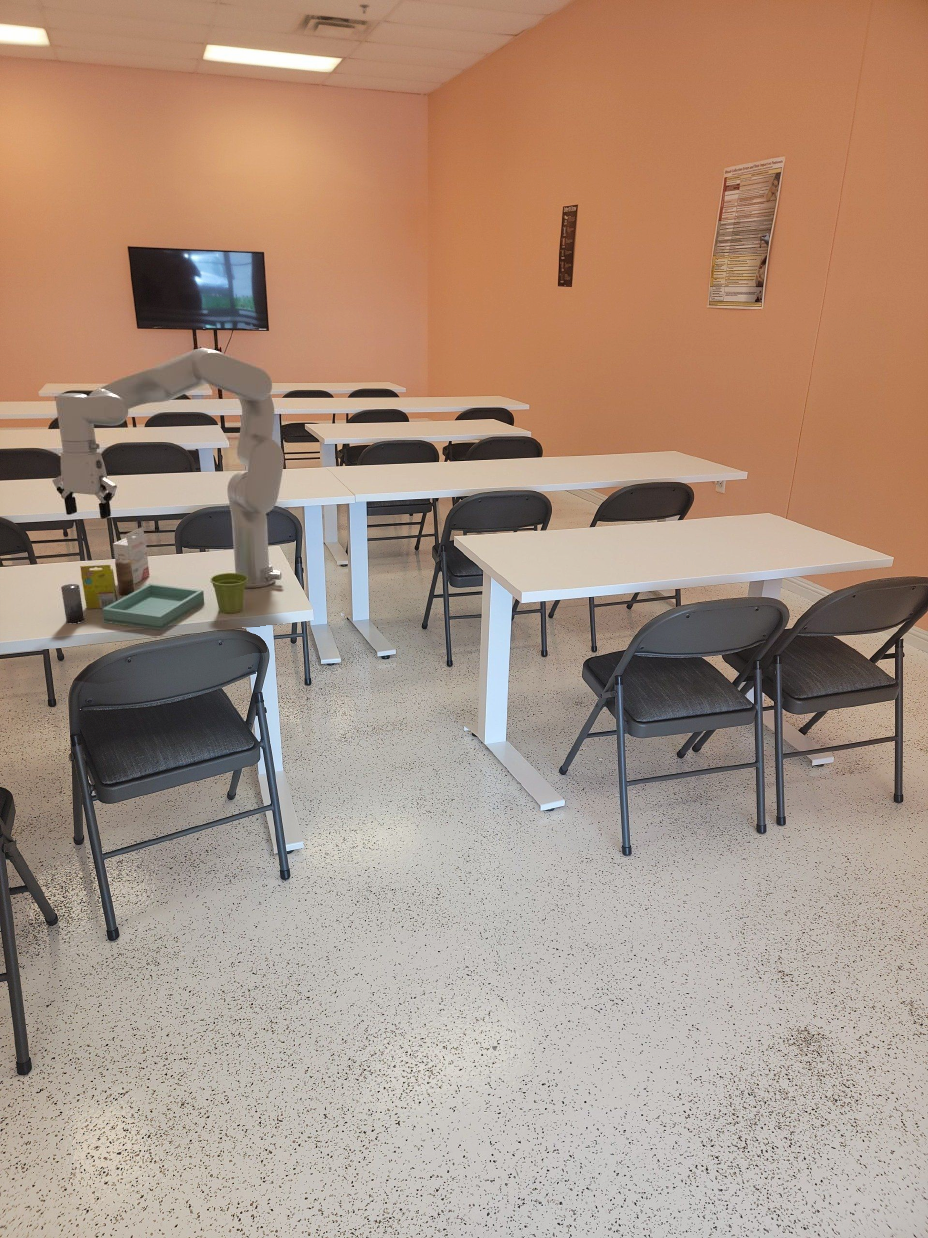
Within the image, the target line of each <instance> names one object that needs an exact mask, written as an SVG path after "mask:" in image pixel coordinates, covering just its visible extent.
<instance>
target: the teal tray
mask: <svg viewBox="0 0 928 1238" xmlns="http://www.w3.org/2000/svg"><path fill="white" fill-rule="evenodd" d="M204 595H205V594H204V589H203V590H202V589H195V588H186V587H179V586H171V585H163V584H157V583H156V584H154V583H148V584H146V585H144V586H142V587H140V588H139V589H137V590H135V592H133V593H131V594H129V595H127V596H123V597H122V598H120V599H117V600H118V601H116V602H114V603H112V604H111V605H109V606H107V607H105V608H101V610H102V617H103V622H104V623H107V622H112V623H111V624H115V623H117V624H116V625H122V624H123V626H131V627H138V628H144V629H145V628H146V629H152V630H158V631H163V630H164V629H166V628H168V627H169V626H170V625H172V624H173V623H175V622H177V621H178V620H180V619H182V618H183V617H185V616H186V615H187V614H189V613H191V612H192V611H194V610H195V609H198V607H201V606H202V605H203V604H205V596H204Z"/></svg>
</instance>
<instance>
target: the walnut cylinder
mask: <svg viewBox="0 0 928 1238" xmlns="http://www.w3.org/2000/svg"><path fill="white" fill-rule="evenodd" d="M114 564H115V571H116V572H115V573H116V581H117V587H118V589H117V591H118V595H119V596H121V597H125V596H127V595H129V594H131V593H133V592H135V591H136V590H135V584H134V582H133V573H132V565H131V561H130V560H118V561H116V562H114Z"/></svg>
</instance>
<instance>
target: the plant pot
mask: <svg viewBox="0 0 928 1238" xmlns="http://www.w3.org/2000/svg"><path fill="white" fill-rule="evenodd" d="M209 580H210V582H211V584H212V587H213V588H214V589H213V590H214V592H215V593H214V594H215V597H216V602H217V606H218V611H219V612H221V613H223V614H227V613H232V614H236V613H239V612H241V611H243V609H244V601H245V590H246V588H245V586H246V582H247V581H248V577H247V576H245V575H243V574H238V573H235V572H227V573H226V572H225V573H224V572H223V573H218V574H215V575H213V576H212V577H210V579H209Z"/></svg>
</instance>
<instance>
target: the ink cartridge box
mask: <svg viewBox="0 0 928 1238" xmlns="http://www.w3.org/2000/svg"><path fill="white" fill-rule="evenodd" d="M136 535H137V536H136ZM146 542H147V541H146V537H145V531H144V528H143V527H138V528H137V529H134V530H133V531H131V532H128V533H126V534H125V538H123V539H120V540H118V541H115V542H114V543H112V547H113V554H114V561H115V562H116V561H118V560H130V561H131V565H132V573H133V582H134V585H135V584H137V583H138V582H141V581H142V580H144V579H145V578H148V577H149V576H150V569H149V568H150V567H149V560H148V559H149V558H148V552H147V551H148V550H147V544H146ZM115 562H114V563H115Z"/></svg>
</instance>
